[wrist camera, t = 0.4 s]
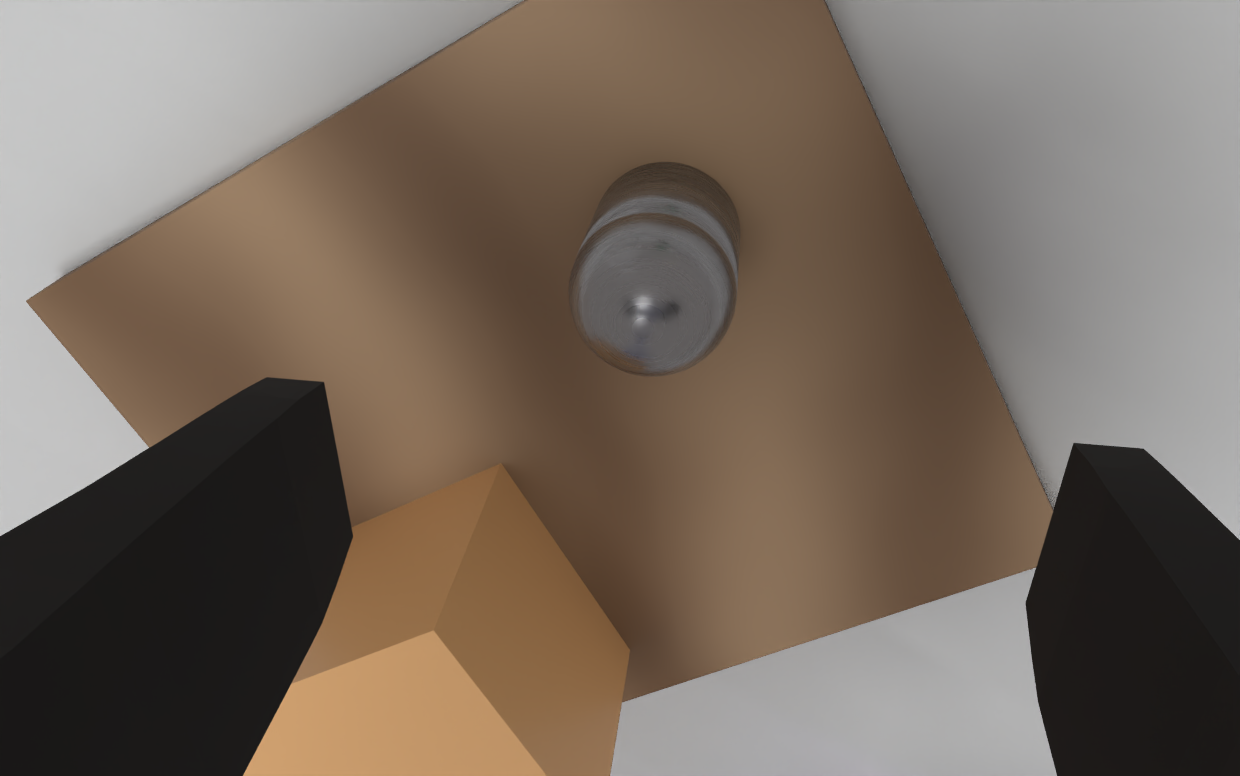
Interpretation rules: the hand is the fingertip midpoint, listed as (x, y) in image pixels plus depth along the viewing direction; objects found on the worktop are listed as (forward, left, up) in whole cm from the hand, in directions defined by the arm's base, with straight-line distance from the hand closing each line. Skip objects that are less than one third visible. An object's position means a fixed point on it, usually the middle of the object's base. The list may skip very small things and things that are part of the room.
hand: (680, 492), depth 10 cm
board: (-5, -3, -10) cm, 12 cm away
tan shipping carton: (-9, -6, -9) cm, 14 cm away
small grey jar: (-1, 0, -9) cm, 9 cm away
